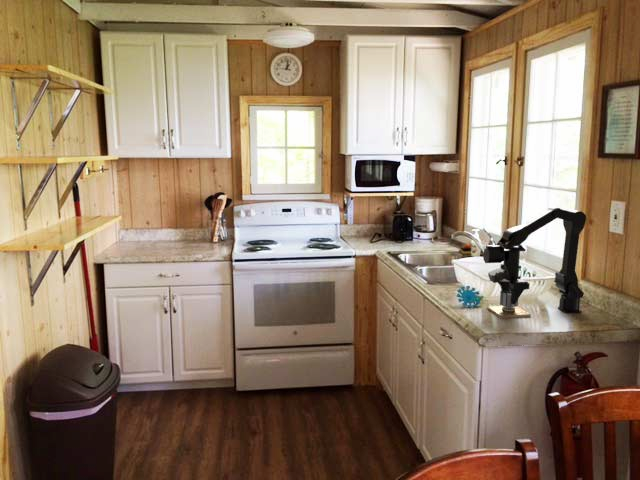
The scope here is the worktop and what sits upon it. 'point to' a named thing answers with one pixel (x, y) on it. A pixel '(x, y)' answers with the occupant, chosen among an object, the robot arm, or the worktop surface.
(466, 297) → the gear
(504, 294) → the hub
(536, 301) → the worktop surface
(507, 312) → the shaft stand
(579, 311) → the robot arm
